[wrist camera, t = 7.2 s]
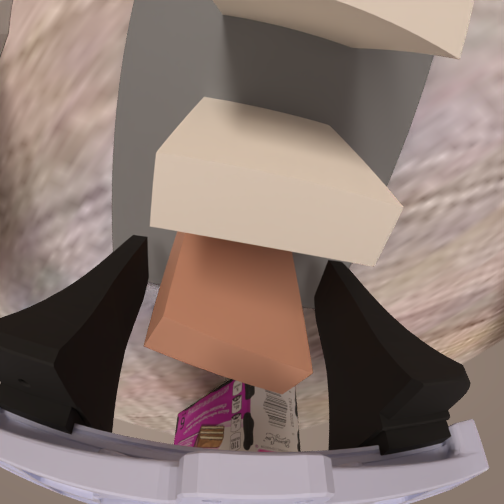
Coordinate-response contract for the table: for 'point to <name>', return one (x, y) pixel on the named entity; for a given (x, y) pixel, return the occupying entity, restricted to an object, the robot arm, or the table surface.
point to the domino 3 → (232, 312)
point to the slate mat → (248, 101)
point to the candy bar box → (241, 420)
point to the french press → (4, 21)
